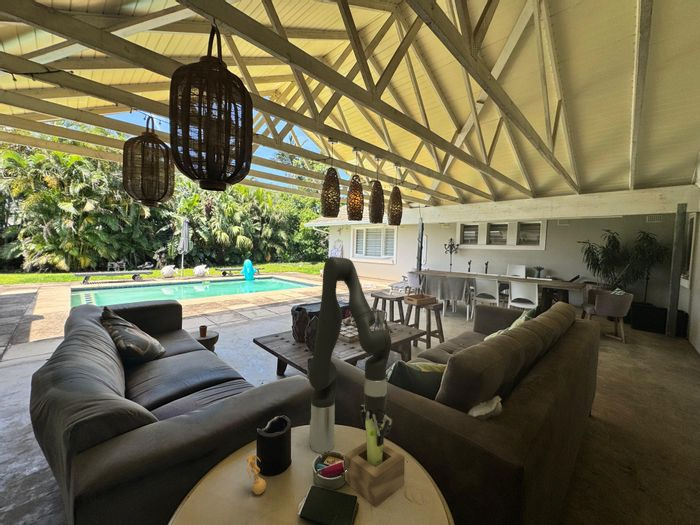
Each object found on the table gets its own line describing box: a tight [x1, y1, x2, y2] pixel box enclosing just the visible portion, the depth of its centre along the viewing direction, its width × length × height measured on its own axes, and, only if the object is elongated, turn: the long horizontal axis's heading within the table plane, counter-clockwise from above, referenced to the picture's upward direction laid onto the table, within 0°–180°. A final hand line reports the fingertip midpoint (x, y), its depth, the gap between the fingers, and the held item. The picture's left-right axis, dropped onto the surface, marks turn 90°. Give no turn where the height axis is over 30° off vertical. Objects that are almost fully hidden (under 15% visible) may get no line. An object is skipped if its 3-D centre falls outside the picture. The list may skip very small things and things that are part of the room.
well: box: [344, 441, 406, 508], centre depth 98 cm, size 14×14×9 cm
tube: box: [365, 419, 383, 467], centre depth 98 cm, size 6×5×20 cm
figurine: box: [246, 453, 267, 495], centre depth 94 cm, size 8×6×12 cm
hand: (374, 442), depth 98 cm, fingers closed on tube, 4 cm apart
